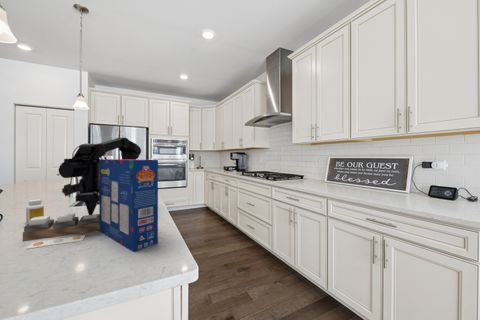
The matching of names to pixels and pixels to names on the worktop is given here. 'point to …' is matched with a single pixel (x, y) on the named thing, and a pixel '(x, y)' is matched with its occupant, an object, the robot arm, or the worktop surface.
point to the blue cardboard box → (129, 202)
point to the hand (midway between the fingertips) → (90, 214)
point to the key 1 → (39, 220)
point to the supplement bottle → (34, 209)
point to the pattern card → (56, 242)
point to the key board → (60, 228)
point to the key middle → (66, 217)
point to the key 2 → (90, 216)
